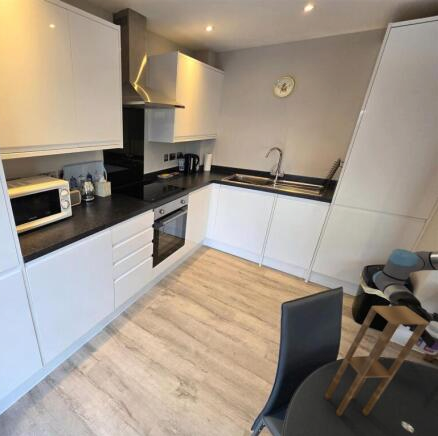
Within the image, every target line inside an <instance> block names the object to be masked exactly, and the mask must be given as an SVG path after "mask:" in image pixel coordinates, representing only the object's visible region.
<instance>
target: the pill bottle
mask: <svg viewBox="0 0 438 436" xmlns="http://www.w3.org/2000/svg"><path fill="white" fill-rule="evenodd" d="M425 329H426V330H427V332H428V333H429V334H430V335H431V336H432V337H433V338H434V340H435V341H436V342H435V343H434V345H433V346H432V348H431V347H428V346H427V345H426V343H425V342H424V341H423V340H422V338H421V337H419V339H418V340H417V342H416V343H415V345H414V346H415V347H416V348H417V349H419V350H420V351H421V352H424V353H425V354H427V355H432V356H435V355H437V354H438V322H436V321H431V322H430V323H429V324H428V325H427V327H426V328H425Z"/></svg>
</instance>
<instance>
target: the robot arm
mask: <svg viewBox="0 0 438 436" xmlns="http://www.w3.org/2000/svg"><path fill="white" fill-rule="evenodd" d="M421 271H438V250H434V251H425V250H421V251H419V250H418V251H415V252H413V251H411V250H407V249H403V248H402V249H401V248H394V249H393V250H392V251H391V252H390V254H389V255H388V258H387V261H386V263H385V265H384V266H383V269H382V270H380V271H377V272H375V273H374V274H373V276H372V281H373V283H374V284H375V286H376V288H377V289H379V291H380V292H381V293H382V294H383V296H384V297H385V298H386V299H387V301H389V303H390V304H389V305H388V306H406V307H407V308H409V309H410V310H412V311H413V312H415V313H416V314H417V315H419V316H420V317H422V318H423V319H425V320H426V321H428V322H429V323H430V322H431V321H436V322H438V313H437V312H432V313H431V312H428V310H426V309H425V308H423V306H422V303H421V301H420V300H419V299H418V298H417V297H416V296H415V295H414V293H412V292H411V290H409V288H407V287H406V286H405V285H406V282H407V281H408V278H409V277H410V275H411V274H412V273H417V272H421ZM401 326H402V327H405V328H407V327H408V330H409V332H411V333H413V332H414V331H415V329H416V328H417V326H418V324H401ZM420 337H421V338H422V340H423V341H424V342H425V343H426V345H427V346H428V347H431V348H432V346H433V345H434V343H435V342H436V341H435V340H434V338H433V337H432V336H431V335H430V334H429V333H428V332H427V330H426V329H425V330H424V331H423V333H422V334H421V336H420Z"/></svg>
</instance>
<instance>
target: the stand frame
mask: <svg viewBox="0 0 438 436" xmlns="http://www.w3.org/2000/svg"><path fill="white" fill-rule="evenodd" d="M376 314H378V312H376V311H375V310H374V309H373V308H371V307H370V309H369V311H368V313H367V314H366V317H365V319H364V320H363V322H362V324H361V326H360V328H359V329H358V331H357V334H356V336H355V337H354V339H353V340H352V343H351V345H350V347H349V348H348V350H347V352H346V354H345V356H344V358H343V360H342V362H341V364H340V366H339V367H338V369H337V372H336V373H335V375H334V376H333V379H332V380H331V382H330V385H329V386H328V388H327V390H326V392H325V393H324V399H326V400H330V398H331V397H332V395H333V393H334V392H335V389H336V387H337V386H338V384H339V382H340V381H341V379H342V376H343V375H344V373H345V371H346V370H347V367H348V365H350V366H351V367H352V368H353V369H354V371H356V373H357V375H356V377H355V378H354V380H353V381H352V383H351V385H350V387H349V388H348V390H347V392H346V394H345V395H344V397H343V399H342V401H341V402H340V403H339V406H338V407H337V409H336V411H335V414H336V416H337V417H342V415H343V413H344V411H345V410H346V408H347V406H348V405H349V403H350V402H351V400H354V399H355V398H356V396H357V395H358V393H359V392H360V390H361V389H362V388H363V385H364V383H365V382H366V381H367V379H371V378H372V379H373V378H376V379H377V378H381V379H382V380H381V382H380V383H379V385H378V386H377V388H376V389H375V390H374V393H372V395H371V397H370V398H369V400H368V401H367V403H366V405H365V406H364V407H363V409H362V410H361V413H362V414H363V416H369V413H370V412H371V411H372V409H373V408H374V406H375V405H376V403H377V401H378V400H379V399H380V397H381V396H382V395H383V392H385V390H386V388H387V387H388V385H389V383H390V382H391V381H392V380H393V378H394V377H395V375H396V374H397V372H398V370H399V369H400V367H402V364H403V363H404V361H405V360H406V358H407V357H408V355H409V354H410V352H411V351H412V349H414V346H415V343H416V342H417V340H418V339H419V337H420V336H421V334H422V333H423V331H424V330H425V328H426V327H427V325H428V324H418V326H417V328H416V329H415V331H414V332H412V334H411V335H410V337H409V338H408V339H407V341H406V343H405V344H404V346H403V348H402V349H401V350H400V352H399V353H398V355H397V357H396V358H395V360H394V362H393V363H392V364H391V366H390V368H389V369H388V370H387V368H386V367H385V366H384V365H383V364H381V362H379V359H380V357H381V356H382V354H383V353H384V351H385V349H386V348H387V346H388V344H389V342H390V341H391V340H392V338H393V336H394V334H395V333H396V332H397V329H398V328H399V326H400V324H391V323H390V322H389V321H387V323H386V325H385V327H384V328H383V330H382V332H381V333H380V335H379V337H378V338H377V341H376V342H375V344H374V345H373V347H372V349H371V351H370V353H369V354H368V356H354V355H355V353H356V351H357V349H358V348H359V346H360V344H361V342H362V340H363V338H364V336H365V335H366V333H367V331H368V329H369V328H370V325H371V323H372V322H373V320H374V318H375V317H376Z"/></svg>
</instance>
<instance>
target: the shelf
mask: <svg viewBox="0 0 438 436" xmlns="http://www.w3.org/2000/svg"><path fill="white" fill-rule="evenodd" d="M371 308H373V309H374V310H375V311H376V312H377V314H379V315H380V316H381V317H382V318H384V319H385V320H386V321H387V322H390V323H391V324H399V325H402V324H429V322H428V321H426V320H425V319H423V318H422V317H420V316H419V315H417V314H416V313H415V312H413V311H412V310H410V309H409V308H407V307H406V306H389V305H372V306H371V307H370V309H371Z"/></svg>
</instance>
